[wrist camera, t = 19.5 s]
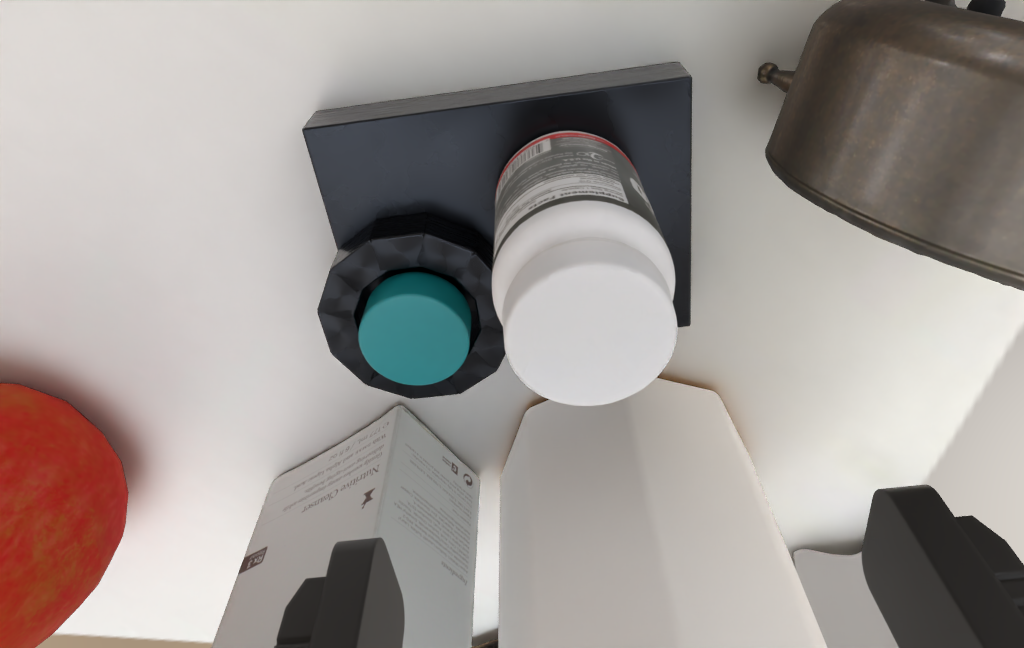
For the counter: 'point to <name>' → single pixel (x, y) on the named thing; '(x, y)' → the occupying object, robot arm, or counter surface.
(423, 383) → the button
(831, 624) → the grey flat curved piece
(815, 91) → the alarm clock
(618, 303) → the pill bottle
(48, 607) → the apple
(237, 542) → the counter surface
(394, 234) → the black push-button base
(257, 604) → the cosmetic box
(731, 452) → the cup
